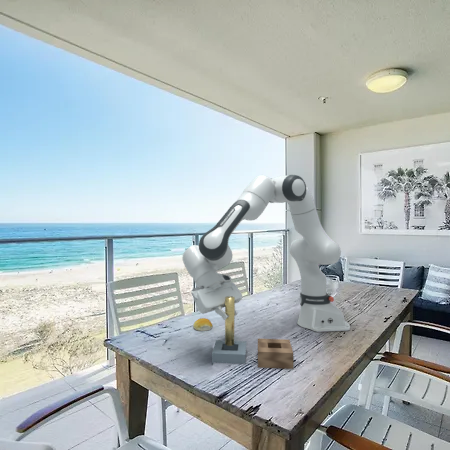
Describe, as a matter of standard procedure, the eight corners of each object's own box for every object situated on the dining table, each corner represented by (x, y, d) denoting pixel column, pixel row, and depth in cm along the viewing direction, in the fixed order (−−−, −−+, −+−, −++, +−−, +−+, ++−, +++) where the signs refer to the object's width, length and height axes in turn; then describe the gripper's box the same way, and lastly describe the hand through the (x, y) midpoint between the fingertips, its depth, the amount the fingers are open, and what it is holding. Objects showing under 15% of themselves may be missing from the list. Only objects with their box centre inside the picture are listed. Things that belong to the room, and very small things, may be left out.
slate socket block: (246, 352, 113) (246, 341, 113) (245, 366, 102) (245, 354, 102) (216, 351, 114) (216, 340, 114) (211, 365, 103) (211, 353, 103)
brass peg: (234, 342, 109) (234, 296, 109) (234, 345, 106) (234, 298, 106) (225, 341, 110) (225, 296, 109) (224, 345, 106) (224, 298, 106)
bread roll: (210, 324, 144) (210, 315, 144) (213, 330, 135) (213, 321, 135) (192, 325, 142) (192, 316, 142) (194, 332, 133) (194, 323, 133)
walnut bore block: (289, 356, 109) (289, 339, 109) (293, 372, 98) (293, 353, 98) (257, 355, 110) (257, 338, 110) (257, 370, 100) (258, 351, 99)
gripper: (193, 283, 104) (215, 319, 98) (232, 275, 120) (253, 305, 113) (184, 294, 107) (205, 330, 101) (223, 285, 122) (243, 315, 116)
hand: (231, 317), depth 107 cm, fingers closed on brass peg, 3 cm apart
